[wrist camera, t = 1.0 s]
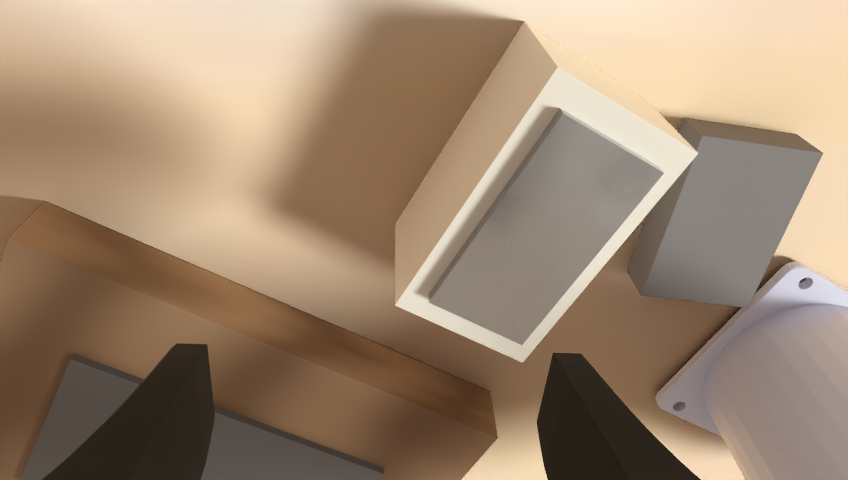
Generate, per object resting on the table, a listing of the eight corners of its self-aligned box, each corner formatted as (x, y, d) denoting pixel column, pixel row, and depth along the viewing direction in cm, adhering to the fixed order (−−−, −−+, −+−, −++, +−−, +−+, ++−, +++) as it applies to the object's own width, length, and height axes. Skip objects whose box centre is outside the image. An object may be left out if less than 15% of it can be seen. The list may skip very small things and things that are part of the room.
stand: (489, 391, 28) (498, 443, 25) (337, 575, 34) (332, 631, 31) (44, 201, 23) (3, 243, 20) (-43, 457, 28) (-84, 513, 26)
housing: (638, 91, 22) (704, 159, 17) (501, 273, 25) (524, 371, 20) (523, 20, 20) (561, 71, 16) (395, 221, 24) (394, 313, 19)
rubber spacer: (790, 130, 23) (823, 153, 21) (724, 277, 26) (747, 308, 24) (679, 113, 22) (702, 135, 21) (624, 265, 25) (640, 295, 23)
